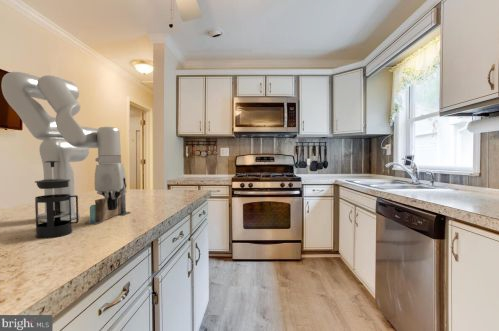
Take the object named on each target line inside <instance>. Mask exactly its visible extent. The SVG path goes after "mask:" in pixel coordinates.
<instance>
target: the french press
mask: <svg viewBox="0 0 499 331" xmlns="http://www.w3.org/2000/svg"><path fill="white" fill-rule="evenodd" d="M45 162H50V164H51V167H52V179H45V180H44V179H42V180H35V181H34V183H35V184H36V186H37V188H38V189H40V190H44V189H53V195H39V196H35V197H34V204H35V206H34V207H35V232H36V233H35V238H36V239H42V240H43V239H54V238H55V239H56V238H60V237H65V236H68V235H70V234H72V233H73V229H72V225H74V224H78V223H79V221H80V220H79V217H78V213H79V197H78V195H77V194H74V195H72V196H71V195H70V194H54V188H65V187H69V181H70V180H68V179H54V174H53V167H54V162H60V161H45ZM71 197H74V198H75V213H76V219H75V220H76V221H72V220H71ZM67 200H69V212H68V211H60V201H67ZM38 203H39V204H45V203H46V209H47V213H45V212H44V213H39V204H38ZM67 215H69V216H70V220H61V217H64V216H67ZM40 219H47V222H41V223H39V220H40Z"/></svg>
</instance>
